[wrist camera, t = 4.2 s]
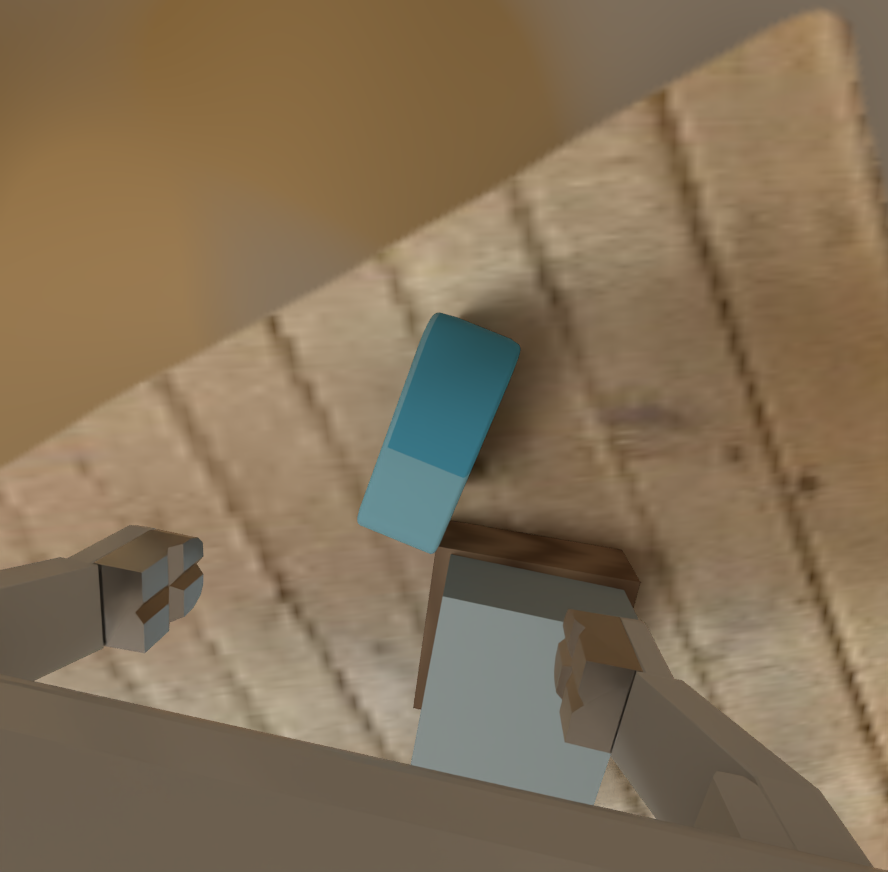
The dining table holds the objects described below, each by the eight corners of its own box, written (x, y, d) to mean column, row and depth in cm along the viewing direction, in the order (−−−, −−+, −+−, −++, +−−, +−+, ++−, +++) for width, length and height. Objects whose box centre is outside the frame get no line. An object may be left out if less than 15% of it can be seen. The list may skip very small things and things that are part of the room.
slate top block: (623, 589, 30) (648, 640, 25) (577, 739, 33) (592, 808, 28) (450, 554, 31) (442, 596, 26) (422, 703, 34) (410, 765, 29)
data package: (451, 486, 34) (430, 567, 23) (398, 464, 34) (349, 534, 23) (513, 339, 31) (524, 346, 20) (454, 316, 31) (430, 309, 20)
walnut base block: (620, 546, 35) (640, 582, 30) (582, 692, 38) (595, 745, 33) (444, 516, 36) (436, 546, 31) (423, 661, 39) (413, 707, 34)
